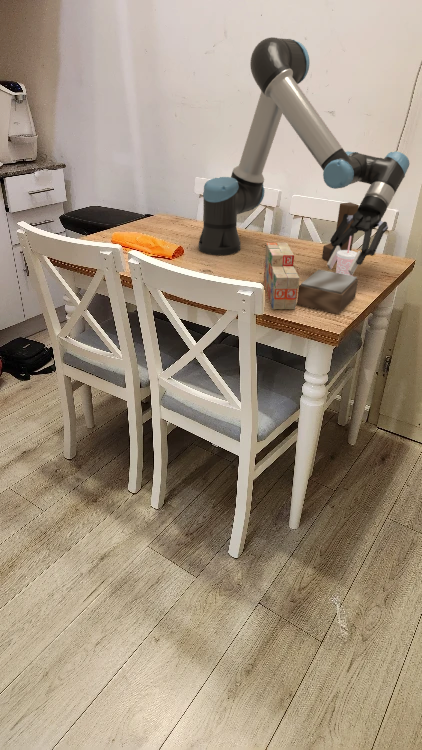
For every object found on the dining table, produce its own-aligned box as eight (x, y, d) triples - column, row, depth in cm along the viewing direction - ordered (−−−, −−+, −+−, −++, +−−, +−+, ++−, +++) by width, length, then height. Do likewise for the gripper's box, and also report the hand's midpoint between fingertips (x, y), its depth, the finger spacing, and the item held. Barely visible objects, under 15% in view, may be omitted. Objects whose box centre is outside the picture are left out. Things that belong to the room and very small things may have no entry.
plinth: (296, 304, 133) (299, 283, 130) (315, 288, 143) (317, 268, 140) (339, 314, 128) (342, 293, 125) (355, 296, 138) (358, 276, 135)
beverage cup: (328, 282, 145) (335, 235, 138) (339, 277, 149) (346, 231, 141) (346, 288, 142) (355, 240, 134) (357, 282, 145) (365, 236, 138)
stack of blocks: (295, 310, 130) (300, 266, 123) (272, 310, 130) (276, 266, 123) (283, 281, 148) (287, 241, 141) (263, 281, 148) (265, 241, 141)
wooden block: (329, 262, 163) (337, 207, 154) (321, 258, 167) (328, 204, 157) (350, 258, 167) (359, 204, 157) (341, 255, 170) (350, 201, 161)
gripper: (408, 216, 140) (372, 284, 138) (348, 204, 150) (314, 268, 149) (405, 199, 134) (367, 271, 132) (343, 189, 144) (307, 255, 142)
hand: (339, 269), depth 140 cm, fingers closed on beverage cup, 6 cm apart
